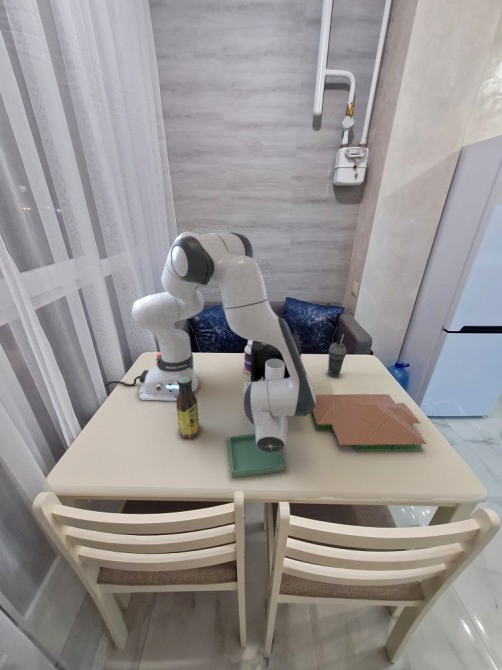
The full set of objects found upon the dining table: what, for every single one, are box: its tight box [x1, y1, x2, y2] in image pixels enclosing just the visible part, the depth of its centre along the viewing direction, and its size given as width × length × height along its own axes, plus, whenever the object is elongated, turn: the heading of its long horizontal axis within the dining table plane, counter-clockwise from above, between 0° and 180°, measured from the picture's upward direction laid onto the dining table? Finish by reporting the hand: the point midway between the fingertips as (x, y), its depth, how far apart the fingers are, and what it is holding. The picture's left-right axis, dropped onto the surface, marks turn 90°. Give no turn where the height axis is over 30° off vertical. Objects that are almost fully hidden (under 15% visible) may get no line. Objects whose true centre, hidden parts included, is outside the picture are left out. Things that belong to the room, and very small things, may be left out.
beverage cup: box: [327, 333, 347, 379], centre depth 110 cm, size 7×7×20 cm
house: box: [311, 393, 428, 451], centre depth 86 cm, size 23×33×8 cm
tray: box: [227, 433, 285, 478], centre depth 76 cm, size 14×12×2 cm
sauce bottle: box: [175, 376, 200, 439], centre depth 80 cm, size 7×6×20 cm
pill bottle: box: [243, 340, 253, 375], centre depth 113 cm, size 8×8×14 cm
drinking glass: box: [265, 359, 285, 381], centre depth 92 cm, size 7×7×15 cm
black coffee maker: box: [250, 333, 302, 382], centre depth 99 cm, size 14×17×23 cm
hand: (274, 379), depth 93 cm, fingers closed on drinking glass, 6 cm apart
